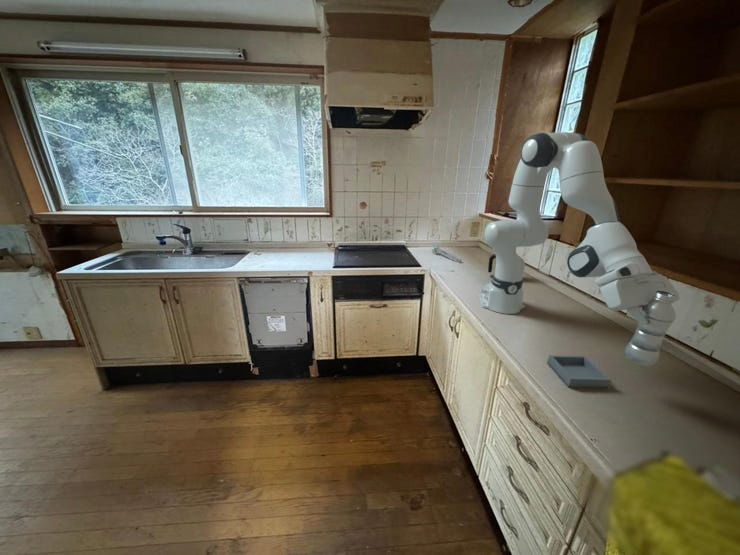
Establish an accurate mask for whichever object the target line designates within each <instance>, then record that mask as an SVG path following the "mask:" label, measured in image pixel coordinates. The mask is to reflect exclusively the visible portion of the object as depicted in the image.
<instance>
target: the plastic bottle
mask: <svg viewBox="0 0 740 555" xmlns="http://www.w3.org/2000/svg"><path fill="white" fill-rule="evenodd" d="M675 296H676V295H674V294H672V293H670V292H666V291H656V292H655V294H654V296H653V299H654V300H652V301H651V302H650V303H649V304H648V305H644V306H643V307H640V309H641V311H640V312H641V313H642V314H643V315H644V316H645V317H648V319H649V321H650V324H647V325H642V326H641V325H639V324H638V323H637V326H636V330H635V332H634V334H633V336H632V338H631V339H630V341H629V342H628V343H627V345H626V346H625V351H624V353H625V355H626V358H628V359H629V360H630V361H632V362H633V363H636V364H639V365H642V366H643V365H644V366H652V365H655V364H656V363H657V361H658V360H659V358H660V350H661V346H662V343H663V340H664V338H665V335H667V332H668V330H669V329H670V327H671V326H672V325H673V323H674V322H675V320H676V319H677V313H676V310H675V308H674V306H673V305H672V304H674V303H675V302H674V299H675Z"/></svg>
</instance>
